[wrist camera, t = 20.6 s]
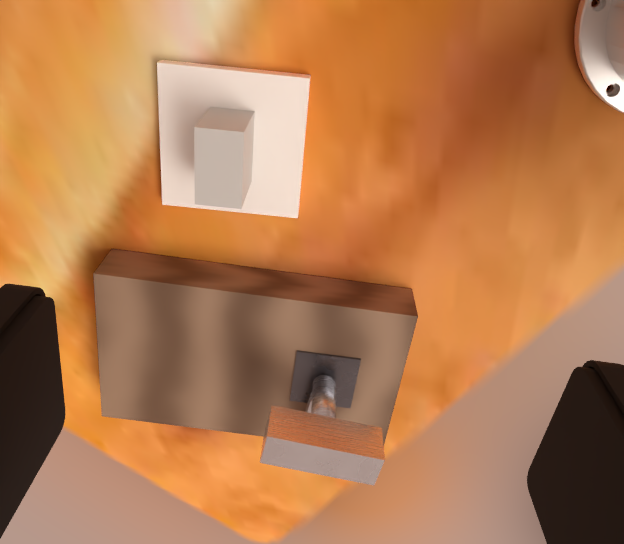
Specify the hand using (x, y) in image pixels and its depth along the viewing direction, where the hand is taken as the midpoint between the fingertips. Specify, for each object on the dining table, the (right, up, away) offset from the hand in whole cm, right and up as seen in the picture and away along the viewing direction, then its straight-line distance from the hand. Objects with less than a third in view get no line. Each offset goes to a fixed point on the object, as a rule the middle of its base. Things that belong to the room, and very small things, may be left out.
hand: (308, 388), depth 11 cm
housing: (-5, -4, +39) cm, 40 cm away
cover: (-5, +12, +31) cm, 34 cm away
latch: (0, -9, +37) cm, 38 cm away
